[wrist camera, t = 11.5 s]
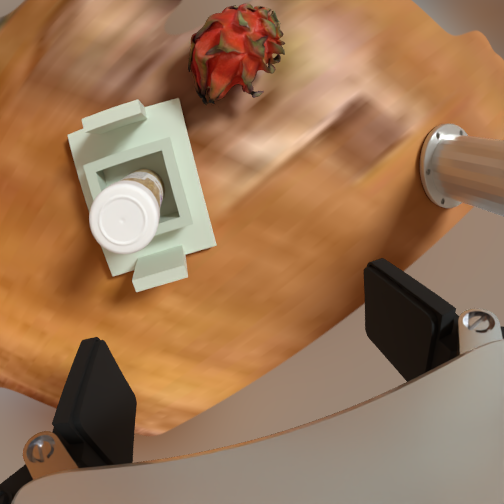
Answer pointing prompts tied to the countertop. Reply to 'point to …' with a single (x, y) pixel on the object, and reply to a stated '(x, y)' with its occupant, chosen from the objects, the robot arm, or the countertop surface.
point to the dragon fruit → (234, 50)
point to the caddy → (160, 161)
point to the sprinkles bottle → (128, 212)
